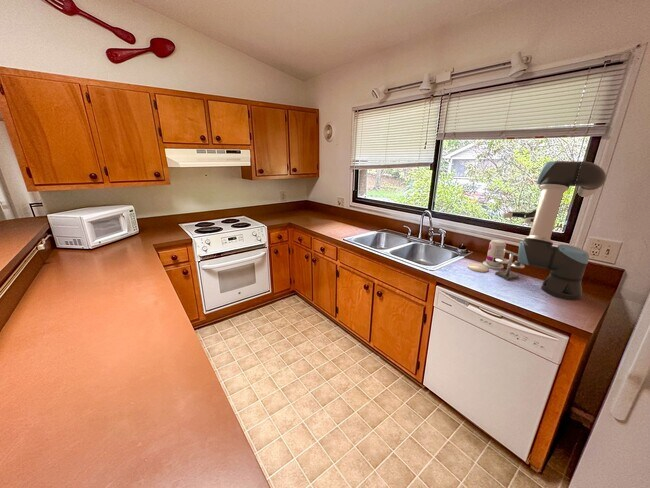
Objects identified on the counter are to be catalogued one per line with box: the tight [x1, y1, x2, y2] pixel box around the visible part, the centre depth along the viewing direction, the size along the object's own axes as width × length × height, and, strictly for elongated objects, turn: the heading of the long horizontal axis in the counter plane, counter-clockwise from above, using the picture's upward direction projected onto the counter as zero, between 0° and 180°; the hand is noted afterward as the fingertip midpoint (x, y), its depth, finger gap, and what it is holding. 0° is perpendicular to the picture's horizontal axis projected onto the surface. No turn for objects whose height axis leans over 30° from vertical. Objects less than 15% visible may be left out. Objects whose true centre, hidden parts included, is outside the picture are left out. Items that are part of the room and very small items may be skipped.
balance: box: [494, 249, 525, 281], centre depth 147 cm, size 8×19×17 cm, turn 109°
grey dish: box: [482, 260, 504, 270], centre depth 164 cm, size 11×11×1 cm
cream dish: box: [467, 262, 490, 273], centre depth 161 cm, size 11×11×1 cm
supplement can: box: [485, 238, 507, 267], centre depth 162 cm, size 8×8×15 cm
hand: (514, 217), depth 158 cm, fingers open, 13 cm apart
